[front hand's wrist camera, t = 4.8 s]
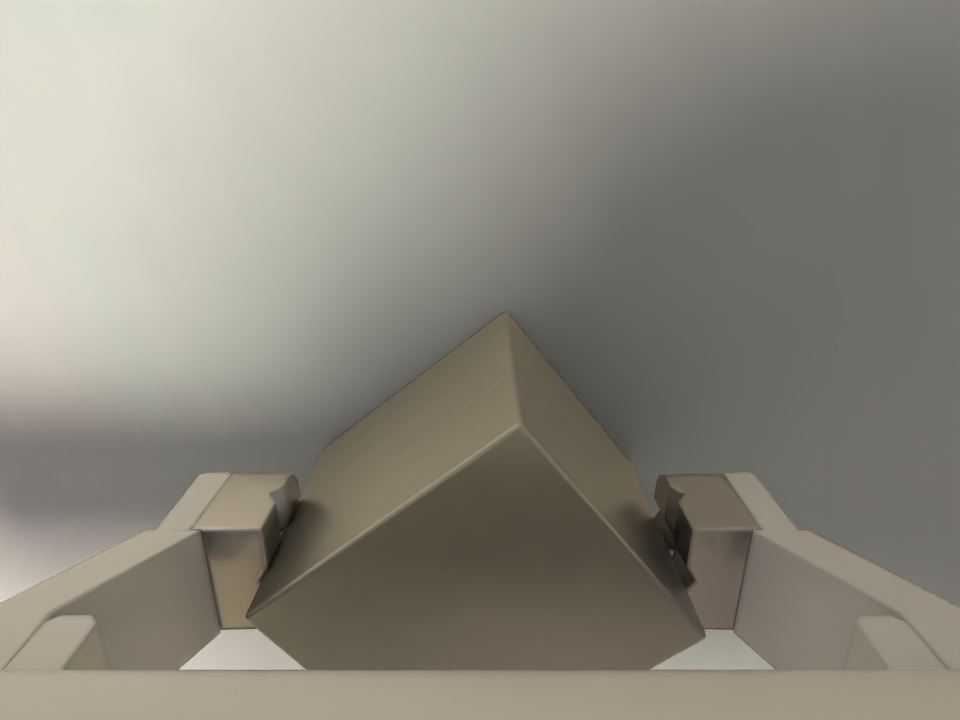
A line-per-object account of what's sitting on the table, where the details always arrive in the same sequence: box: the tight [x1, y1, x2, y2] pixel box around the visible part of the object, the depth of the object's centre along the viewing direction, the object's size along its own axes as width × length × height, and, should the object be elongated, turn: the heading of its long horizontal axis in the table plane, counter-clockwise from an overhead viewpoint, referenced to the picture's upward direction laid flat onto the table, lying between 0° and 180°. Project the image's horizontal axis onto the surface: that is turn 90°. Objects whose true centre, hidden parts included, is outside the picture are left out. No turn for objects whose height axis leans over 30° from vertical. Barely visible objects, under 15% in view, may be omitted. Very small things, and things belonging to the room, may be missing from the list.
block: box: [245, 312, 705, 670], centre depth 10 cm, size 4×5×4 cm
